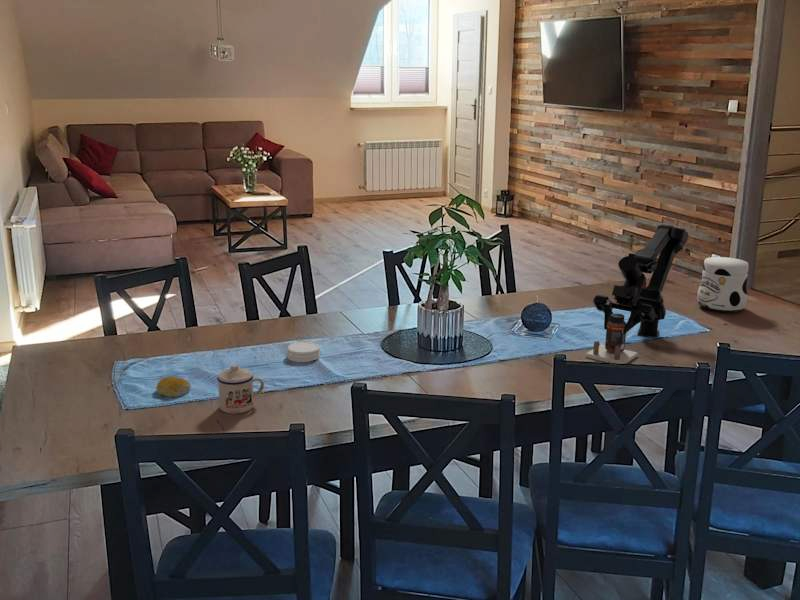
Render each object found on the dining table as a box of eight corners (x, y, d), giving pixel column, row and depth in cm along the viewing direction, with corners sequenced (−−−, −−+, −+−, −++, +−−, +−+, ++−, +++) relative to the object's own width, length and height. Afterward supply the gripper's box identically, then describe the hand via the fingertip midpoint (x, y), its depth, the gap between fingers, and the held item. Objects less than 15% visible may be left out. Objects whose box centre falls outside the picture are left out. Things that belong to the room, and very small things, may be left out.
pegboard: (601, 347, 257) (602, 332, 256) (637, 356, 250) (638, 340, 249) (585, 356, 249) (587, 341, 247) (622, 366, 242) (624, 349, 240)
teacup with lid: (224, 417, 204) (221, 374, 201) (215, 403, 212) (212, 362, 209) (269, 408, 209) (268, 367, 206) (259, 396, 217) (257, 355, 214)
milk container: (690, 310, 298) (695, 262, 293) (702, 299, 311) (708, 254, 306) (739, 318, 288) (745, 269, 283) (750, 307, 302) (756, 260, 297)
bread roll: (172, 383, 226) (171, 370, 224) (195, 390, 221) (194, 377, 220) (149, 393, 219) (148, 379, 218) (172, 400, 214) (171, 386, 213)
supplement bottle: (627, 352, 248) (631, 317, 245) (609, 353, 247) (612, 318, 244) (619, 346, 254) (622, 311, 250) (601, 347, 252) (604, 312, 249)
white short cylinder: (310, 365, 240) (310, 354, 239) (281, 360, 244) (280, 349, 243) (325, 354, 249) (325, 343, 248) (297, 350, 253) (296, 339, 252)
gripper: (597, 269, 252) (579, 311, 247) (655, 280, 241) (637, 324, 236) (606, 288, 260) (589, 329, 255) (663, 299, 249) (645, 342, 244)
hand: (614, 330), depth 247 cm, fingers closed on supplement bottle, 6 cm apart
